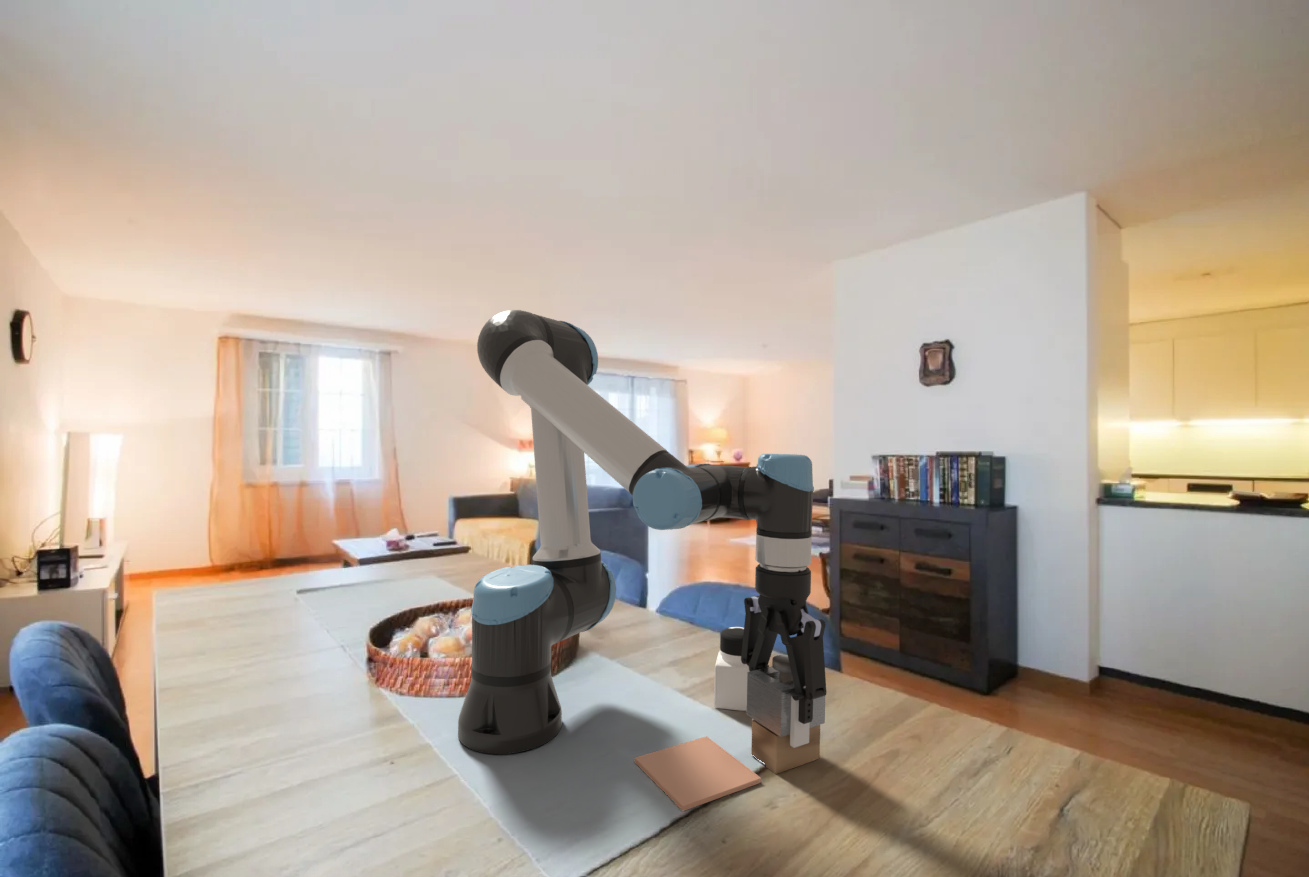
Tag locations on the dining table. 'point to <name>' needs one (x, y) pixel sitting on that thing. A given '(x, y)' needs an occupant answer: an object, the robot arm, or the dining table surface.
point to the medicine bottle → (731, 672)
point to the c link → (776, 701)
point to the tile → (696, 772)
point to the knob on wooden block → (778, 748)
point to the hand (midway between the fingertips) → (779, 730)
